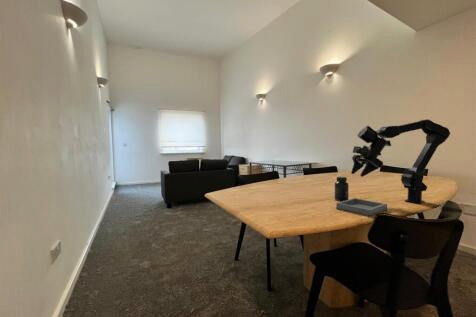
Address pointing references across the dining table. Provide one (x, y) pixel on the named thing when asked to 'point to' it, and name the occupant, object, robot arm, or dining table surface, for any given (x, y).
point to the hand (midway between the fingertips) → (356, 174)
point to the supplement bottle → (341, 189)
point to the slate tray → (361, 207)
